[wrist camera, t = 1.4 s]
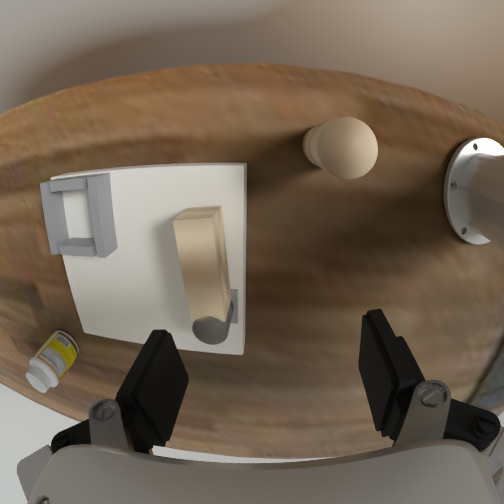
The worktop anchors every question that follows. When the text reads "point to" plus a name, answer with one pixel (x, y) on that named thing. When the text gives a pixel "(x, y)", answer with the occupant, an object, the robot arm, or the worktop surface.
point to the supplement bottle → (52, 361)
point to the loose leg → (341, 147)
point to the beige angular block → (205, 271)
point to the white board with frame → (143, 246)
